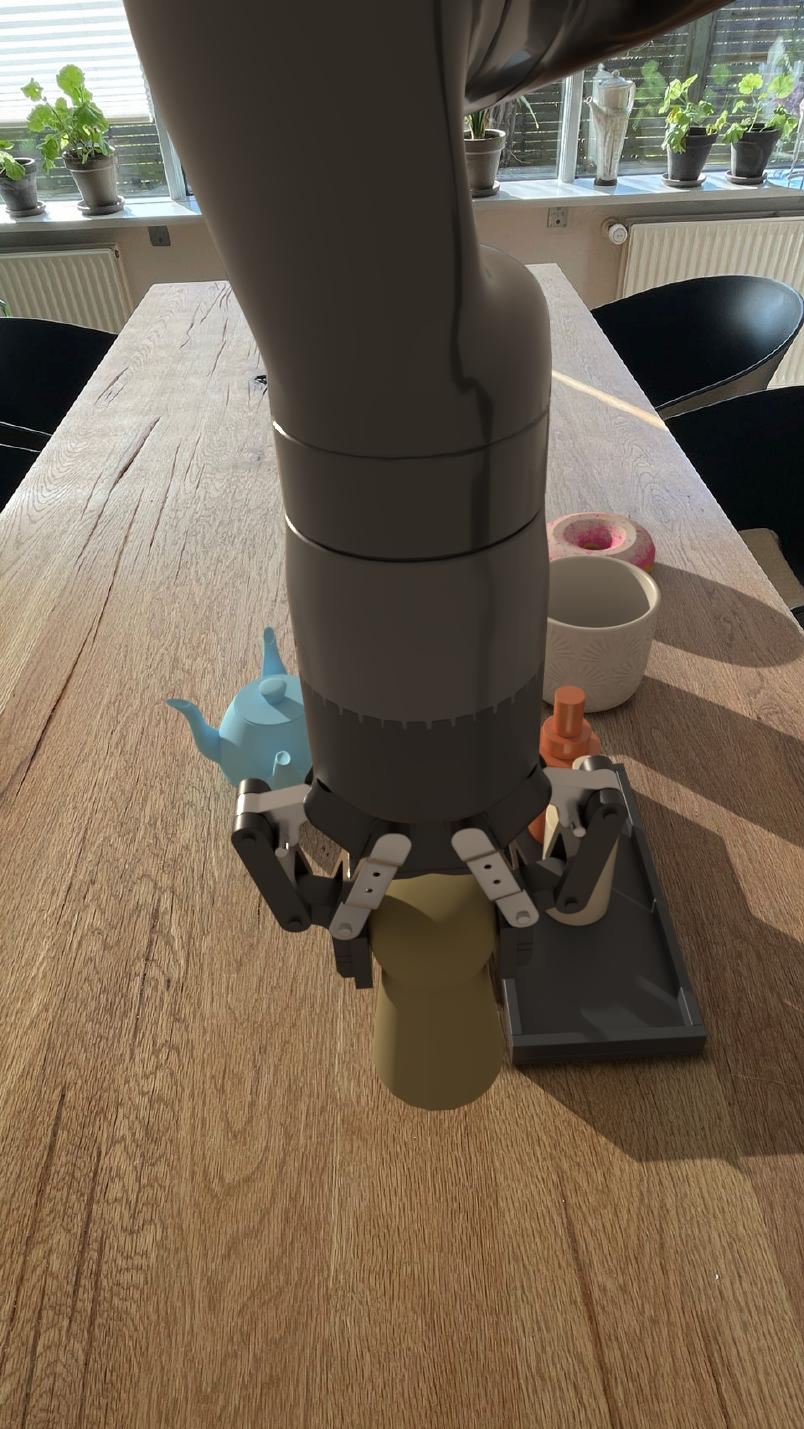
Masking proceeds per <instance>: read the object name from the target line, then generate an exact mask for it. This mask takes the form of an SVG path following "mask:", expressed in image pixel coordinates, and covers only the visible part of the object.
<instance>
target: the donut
mask: <svg viewBox="0 0 804 1429" xmlns="http://www.w3.org/2000/svg"><path fill="white" fill-rule="evenodd" d="M546 529H547V538H548V547H549V561H550V560H553V559H557V558H561V557H566V556H574V555H597V556H605V557H611V558H615V559H619V560H622V561H625V562H628V563H630V564H632V565H635V566H637V567H638V568H640V569H642V570H643V571H645V572H646V573H647V574H649V573H650V572H651V570H652V568H653V566H654V565H655V560H656V546H655V544H654V541H653V539H652V536H651V534H650V533H649V532H648V530H647V529H646V528H644V527H643V525H641V524H639V523H638V522H637V521H635V520H633V519H631V518H630V517H627V516H624V515H621V514H617V513H612V512H605V511H580V512H579V511H578V512H573V513H570V514H566V515H563V516H560V517H558V518H556V519H555V520H552V521H551V522H549V523H546Z"/></svg>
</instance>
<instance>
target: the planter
mask: <svg viewBox="0 0 804 1429" xmlns="http://www.w3.org/2000/svg"><path fill="white" fill-rule="evenodd" d="M661 601H662V593H661V590H660V587H659V585H658V584H657V582H656V581H655V579H654V578H653V577H652V575H650V574H649V573H648V574H647V573H646V572H645V571H643V570H642V569H640V568H638V567H637V566H635V565H632V564H630V563H628V562H625V561H622V560H619V559H615V558H611V557H605V556H597V555H574V556H566V557H561V558H557V559H553V560H550V588H549V603H548V621H547V637H546V653H545V669H544V684H543V700H542V701H544V702H545V703H547V704H549V705H551V706H552V707H554V699H555V692H556V691H557V690H558V689H559V688H561V687H563V686H575V687H578V688H580V689H581V690H583V691H584V693H585V695H586V698H585V707H584V714H585V713H586V714H589V713H597V712H598V713H599V712H604V711H607V710H611V709H614V708H616V707H619V706H620V705H621V704H624V703H625V702H627V700H629V699H630V698H631V697H632V696H633V695H634V694H635V693H636V691H637V690H638V688H639V687H640V684H641V683H642V680H643V678H644V675H645V672H646V668H647V665H648V663H649V658H650V654H651V649H652V644H653V640H654V635H655V630H656V627H657V626H656V625H657V620H658V615H659V609H660V605H661Z"/></svg>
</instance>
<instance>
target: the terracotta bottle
mask: <svg viewBox="0 0 804 1429" xmlns="http://www.w3.org/2000/svg"><path fill="white" fill-rule="evenodd" d="M585 698H586V695H585V693H584V691H583V690H581V689H580V688H578V687H575V686H563V687H561V688H559V689H558V690H557V691H556V692H555V699H554V706H553V714H552V715H550V716H548V718H546V719H545V720H544V722H543V724H542V726H541V732H540V750H539V752H540V754H541V755H542V756H543V758H544V759H545V761H546V764H547V767H555V768H566V769H572V767H573V763H574V761H575V760H576V759H577V758H579V757H582V756H594V755H601V748H602V747H601V741H600V739H599V738H598V735H597V734H596V733H595V731H593V730H592V729H593V728H592V726H591V724H590V722H589V720H587V719H586V718H585V713H584V707H585ZM548 806H549V805H548ZM548 806H547V808H548ZM547 808H546V809H545V810H544V811H543V812H542V813H541V814H540V815H539V816H538V817H537V818H536V819H535V820H534V821H533V822H532V823H531V824H530V825H529V826H528V827H527V829H528V832H529V833H530V835H531V836H532V837H533V838H534V839H535V840H536V841H537V842H539V843H540V844H542V845H544V832H545V820H546V811H547Z"/></svg>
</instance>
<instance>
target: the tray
mask: <svg viewBox="0 0 804 1429" xmlns="http://www.w3.org/2000/svg"><path fill="white" fill-rule="evenodd" d="M613 766H614V769H615V772H616V775H617V777H618V780H619V783H620V786H621V789H622V793H623V797H624V800H625V804H626V807H627V810H628V817H627V819H626V821H625V823H624V826H623V828H622V830H621V832H620V836H619V843H618V849H617V856H616V862H615V869H614V875H613V882H612V888H611V894H610V901H609V906H608V909H607V911H606V913H605V914H604V915H603V916H602V917H601V918H600V919H599V920H597V921H596V922H593V923H591V924H588V925H582V926H573V925H568V924H564V923H561V922H559V921H557V920H555V919H554V918H552V917H551V916H550V915H549V914H548V913H547V912H546V911H543V912H542V913H540V914H539V919H538V921H537V922H536V923H534V936H533V949H532V950H533V951H532V959H531V960H530V962H529V963H528V965H527V966H516V978H515V979H503V980H499V981H500V988H501V994H502V995H501V996H502V1003H503V1010H504V1017H505V1018H504V1019H505V1024H506V1025H505V1026H506V1032H507V1040H508V1047H509V1048H508V1049H509V1054H510V1062H511V1065H512V1066H517V1065H534V1064H551V1063H552V1064H553V1063H571V1062H590V1061H591V1062H592V1061H606V1060H607V1061H609V1060H626V1059H643V1058H659V1057H662V1058H663V1057H679V1056H681V1057H682V1056H697V1055H698V1056H699V1055H702V1054H703V1052H704V1048H705V1045H706V1042H707V1039H708V1033H707V1030H706V1026H705V1024H704V1021H703V1017H702V1014H701V1011H700V1008H699V1005H698V1001H697V997H696V994H695V991H694V988H693V985H692V982H691V978H690V975H689V972H688V968H687V965H686V962H685V959H684V955H683V953H682V950H681V946H680V943H679V940H678V936H677V933H676V930H675V927H674V924H673V920H672V917H671V914H670V911H669V906H668V904H667V901H666V898H665V893H664V891H663V887H662V885H661V881H660V878H659V874H658V872H657V867H656V865H655V862H654V858H653V855H652V851H651V849H650V845H649V843H648V842H649V841H648V838H647V836H646V832H645V829H644V826H643V823H642V819H641V816H640V812H639V810H638V807H637V804H636V803H637V802H636V800H635V797H634V793H633V791H632V790H633V789H632V787H631V783H630V780H629V777H628V773H627V771H626V767H625V764H624V762H619V763H618V762H617V763H613ZM515 840H516V842H517V844H518V846H519V848H520V849H521V851H522V853H523V855H524V857H525V858H526V860H527V862H528V864H530V863H534V862H537V861H540V860H542V858H543V845H542V844H540V843H539V842H537V841H536V840H535V839H534V838H533V837H532V836H531V835H530V833H529V832H528V829H527V828H526V829H525V830H524V831H523V832H522V833H520V834H519V835H518V836H517V837H516V838H515Z"/></svg>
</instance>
